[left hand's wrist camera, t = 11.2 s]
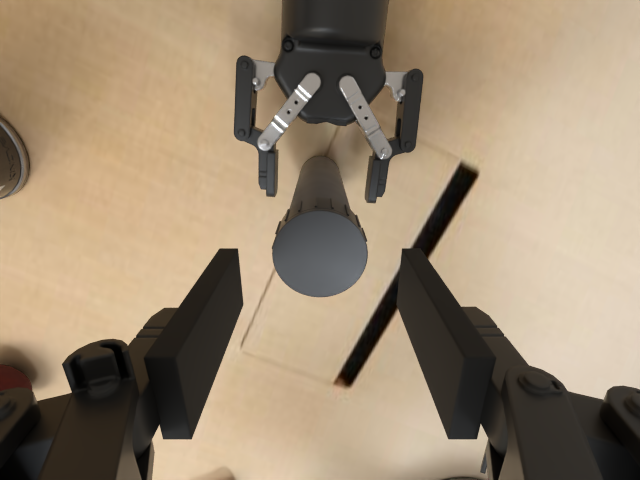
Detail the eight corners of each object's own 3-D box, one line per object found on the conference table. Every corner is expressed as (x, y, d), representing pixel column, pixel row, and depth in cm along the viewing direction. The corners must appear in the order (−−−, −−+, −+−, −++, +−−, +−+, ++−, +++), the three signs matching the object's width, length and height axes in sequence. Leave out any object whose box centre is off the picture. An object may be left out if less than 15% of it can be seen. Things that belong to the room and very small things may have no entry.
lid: (379, 247, 19) (387, 266, 17) (309, 290, 20) (308, 314, 18) (331, 178, 18) (333, 188, 15) (259, 228, 19) (250, 245, 16)
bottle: (347, 180, 35) (376, 261, 17) (315, 202, 36) (310, 301, 18) (325, 147, 34) (330, 196, 16) (292, 171, 35) (262, 243, 17)
